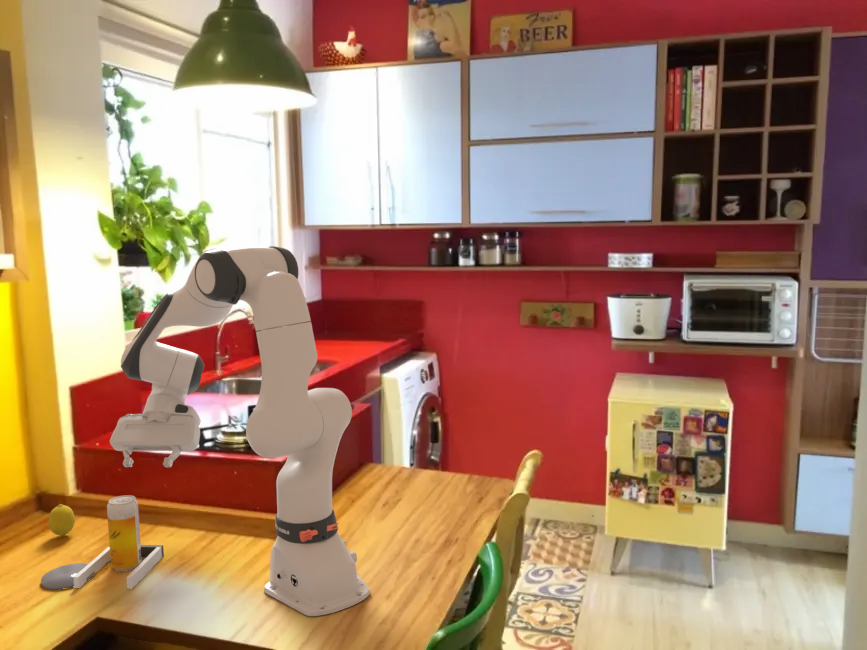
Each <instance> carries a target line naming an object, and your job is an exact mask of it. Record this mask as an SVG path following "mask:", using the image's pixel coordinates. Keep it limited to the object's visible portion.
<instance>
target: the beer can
mask: <svg viewBox="0 0 867 650" xmlns="http://www.w3.org/2000/svg"><path fill="white" fill-rule="evenodd" d="M106 513H107V515H106V516H107V529H108V541H109V546H110V558H111V560H110V566H111V568H112V569H113V570H114V569H115V570H114V571H116V570H117V571H116V572H120V571H122V572H127V571H126V570H129V571H132V570H134V568H136V567H137V566H138V565H139V564H140V563H141V562H142V561H143V558H142V557H141V545H142V544H141V532H140V531H141V530H140V528H141V527H140V516H139V515H140V514H139V513H140V512H139V501H138V500H137V498H136V496H134V495H132V494H131V495H130V494H127V495H119V496H115V497H112V498H110V499H109V500H108V503H107V505H106ZM131 569H132V570H131Z"/></svg>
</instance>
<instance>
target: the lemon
mask: <svg viewBox="0 0 867 650" xmlns="http://www.w3.org/2000/svg"><path fill="white" fill-rule="evenodd" d="M75 524H76V519H75V514H74V511H73V509H72V508H71V507H70V506H68V505H66V504H65V505H64V504H62V503H61V504H58V505H57V506H55V507H54V508H53V509H52V510H51V511H50V513H49V515H48V527H49V529H50V532H51V533H53V534H54V535H57V536H60V537H65V536H66V535H67V534H68V533H70V532H71V531H72V530H73V528H74V526H75Z"/></svg>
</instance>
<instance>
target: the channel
mask: <svg viewBox="0 0 867 650" xmlns="http://www.w3.org/2000/svg"><path fill="white" fill-rule="evenodd" d="M164 556H165V552H164V545H163V544H141V557H146V558H144V559H142V561H141V562H140V563H139V565H138V566H137V567H136V568H135V569H132V570H131V571H132V572H130V573H129V575H127V576H126V587H127V588H130V589H129V590H133V589H134V588H135V587H136V586H137V585H138V584H139V583H140V582H139V581H141V580H142V579H143V578H145V576H147V574H148V573H149V572H150V571H151V570H152V569H153V568H154V567H155V566H156V565H157V564H158V563H159V562H160V561H161V560H162V559H163V557H164ZM109 560H110V561H111V558H110V545H109V546H107V547H106V548H105V549H104V550H103V551H102V552H101V553H100V554H98V555H97V556H96V557H95V558H93V559H92V560H91V561H90V562H89V563H87V564H88V565H87V566H86V567H84V568H83V569H82V570H81V571H80V572H79V573H77V574H76V575H75V576H74V577H73V579H74V587H73V589H74V588H79V589H81V588H82V587H83V586H84V585H85V584H86V583H87V582H88V581H87V580H86V578H87V577H88V576H89V575H91V574H92V573H93V572H95V573H96V572H97V571H98V572H99V571H100V570H101V569H103V568H104V567H105V566H106V565H107V564H108V563H109V562H110V561H109ZM158 561H159V562H158ZM107 562H108V563H107ZM157 562H158V563H157ZM106 563H107V564H106ZM156 563H157V564H156ZM105 564H106V565H105ZM155 564H156V565H155ZM104 565H105V566H104ZM154 565H155V566H154ZM103 566H104V567H103ZM153 566H154V567H153ZM102 567H103V568H102ZM98 572H97V573H98ZM97 573H96V574H97ZM85 582H86V583H85ZM138 582H139V583H138ZM84 583H85V584H84ZM137 583H138V584H137ZM83 584H84V585H83ZM136 584H137V585H136ZM82 585H83V586H82ZM135 585H136V586H135ZM81 586H82V587H81ZM134 586H135V587H134ZM133 587H134V588H133ZM132 588H133V589H132Z"/></svg>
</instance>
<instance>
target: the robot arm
mask: <svg viewBox="0 0 867 650" xmlns="http://www.w3.org/2000/svg"><path fill="white" fill-rule="evenodd" d="M187 277H188V278H187V280H186V283H185V284H184V285H183V286H182V287H181V288H180V289H178V290H176V291H173V292H169V293H166V294H164V295H163V297H162V298H161V299H160V300H159V301H158V303H157V304H156V305H155V307H154V308H153V309H152V311H151V313H150V314H149V316H148V317H147V318H146V320H145V322H144V323H143V325H142V326H141V328H140V330H139V331H138V332H137V334H136V335H135V336H134V338H133V339H132V340H131V341H130V342H129V343H128V344H127V346H126V347H125V348H124V350H123V353H122V355H121V359H120V369H121V370H122V372H123V373H124V374H125V376H126V377H127V378H128V379H131V380H136V381H142V382H143V381H144V382H147V383H150V384H152V385H151V392H150V394H149V395H148V396H147V400H146V403H145V406H144V409H143V412H142V413H127V414H125V415H124V416H121V417H119V419H118V421H117V424H116V426H115V428H114V430H113V432H112V434H111V437H110V439H109V444H110V446H111V447H112V448H113V450H115V451H118V452H122V454H123V455H122V456H123V457H124V459H123V462H122V465H123V466H124V467H125V468H132V467H133V464H134V462H135V461H134V460H133V458H132V457H130V455H132V453H133V452H171V453H170V454H169V456H168V457H167V456H166V457H164V459H163V461H162V465H163V466H164V468H172V466H173V463H174V461H176V459H177V458H178V457H179V456H181V452H193V451H195V450H196V449H197V448H198V446H199V442H200V437H201V429H200V427H199V426H200V424H201V419H200V418H201V417H200V416H199V414H198V413H197V410H196V409H194V407H193V406H191V405H188V404H185V402H186V401H185V400H186V398H187V396H189V395H191V394H192V393H194V392H195V391H197V390H198V389H199V387H200V384H201V379H202V375H203V371H204V369H205V367H206V366H205V363H204V361H203V358H202V357H201V356H200V355H199V354H198V353H195V352H193V351H190V350H187V349H182V348H178V347H175V346H171V345H169V344H165V343H161V342H159V341H157V340H158V339H159V337H160V336H161V334H162V333H163V331H164V330H165V329H167V328H171V327H176V326H178V327H180V326H182V327H183V326H185V327H188V326H189V327H200V328H201V327H203V328H205V327H210V326H213V325H216V324H218V323H220V322H221V321H223V320H224V319H226V317H227V316H228V314H229V313H230V311H231V310H232V308H233V306H234V305H237V304H238V302H239V301H243V302H246V304H248V305H249V307H250V308H251V311H252V316H253V322H254V323H253V324H254V329H255V330H254V331H255V334H256V339H257V344H258V345H257V346H258V350H259V358H260V363H261V364H260V365H261V381H260V382H261V384H260V389H259V394H258V399H257V401H256V405H255V407H254V409H253V411H252V412H251V413H250V415H249V416H248V419H247V422H246V426H245V435H246V439H247V442H248V443H249V446H250V447H251V449H252V450H253V451H254V453H256V454H257V455H259V456H260V457H262V458H265V459H274V458H276V459H277V458H282V457H283V458H284V457H287V459H286V461H285V463H284V465H283V466H282V467H281V469H280V471H279V472H278V474H277V477H276V483H275V485H276V486H275V487H276V506H277V509H276V510H277V513H276V514H275V522H274V525H275V533H276V535H277V537H276V539H275V541H274V543H273V545H272V547H271V549H270V557H269V558H270V559H269V561H270V562H269V563H270V564H269V565H270V566H269V581H267V583H265V584H264V587H263V589H264V590H263V592H264V593H265V594H266V595H268V596H271V598H274V599H275V600H278V602H279V601H280V602H281V603H283V604H285V605H286V606H289V607H290V608H292V609H293V610H296V611H298V612H299V613H301V614H303V615H305V616H307V617H320V616H325V615H329V614H333V613H336V612H340V611H342V610H345V609H347V608H350V607H353V606H355V605H356V604H359V603H360V602H362V601H363V600H365V599H367V597H369V596H370V594H371V590H370V587H369V586H368V585H367V584H366V583H365V581H364V579H362V577H361V575H359V574H358V572H357V566H356V563H357V562H358V556H357V553H356V552H355V550H353V551H349V549H348V548H347V543H346V540H345V539H342V537H341V536H340V534H339V532H338V530H339V526H338V525H339V522H337V516H336V514H335V510H334V509H333V472H334V465H335V460H336V456H337V452H338V448H339V444H340V441H341V439H342V436H343V434H344V432H345V430H346V429H347V427H348V426H349V424H350V422H351V419H352V416H353V413H352V412H353V408H352V405H351V402H350V400H349V398H348V396H347V395H346V394H345V393H344V391H342V390H340V389H338V388H334V387H315V388H312V389H309V380H310V376H311V373H312V371H313V369H314V367H315V366H316V364H317V361H318V352H317V346H316V342H315V341H316V340H315V335H314V331H313V325H312V320H311V316H310V310H309V307H308V304H307V301H306V297H305V294H304V292H303V289H302V286H301V284H300V282H299V266H298V262H297V260H296V257H295V256H294V254H293V253H292V252H291V251H290V250H288V249H287V248H284V247H280V246H274V245H270V246H267V247H266V246H249V245H242V246H234V247H229V246H225V245H213V246H210V247H208V248H206V249H205V250H203V251H202V253H201V255H200V256H199V257H198V259H197V261H196V262H195V263H194V266H193V267H192V269H191V271H190V272H189V275H188V276H187Z"/></svg>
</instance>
